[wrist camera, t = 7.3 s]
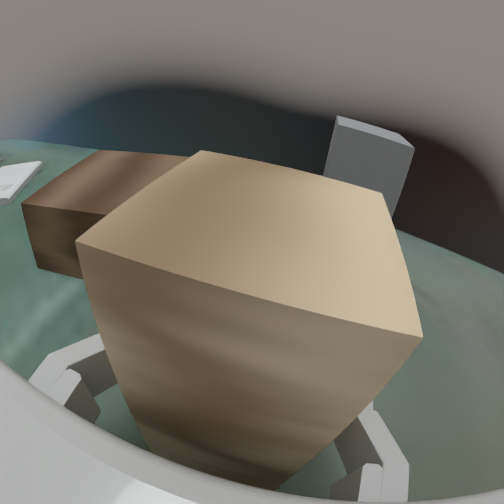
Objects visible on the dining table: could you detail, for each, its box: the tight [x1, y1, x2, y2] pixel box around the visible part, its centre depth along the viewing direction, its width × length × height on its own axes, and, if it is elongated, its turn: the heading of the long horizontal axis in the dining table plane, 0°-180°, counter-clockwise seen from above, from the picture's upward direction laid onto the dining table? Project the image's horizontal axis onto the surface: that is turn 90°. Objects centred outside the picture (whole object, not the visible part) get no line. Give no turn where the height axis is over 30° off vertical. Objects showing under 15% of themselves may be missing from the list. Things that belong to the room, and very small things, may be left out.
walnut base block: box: [21, 150, 190, 280], centre depth 23 cm, size 12×12×6 cm
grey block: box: [323, 116, 415, 218], centre depth 22 cm, size 5×5×12 cm
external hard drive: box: [0, 161, 43, 205], centre depth 30 cm, size 2×8×12 cm
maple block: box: [75, 150, 423, 491], centre depth 9 cm, size 5×5×12 cm
